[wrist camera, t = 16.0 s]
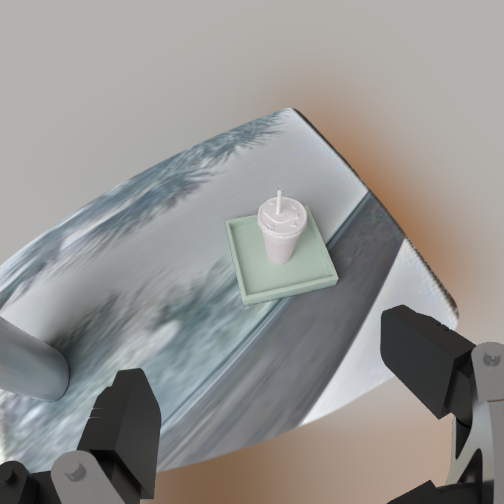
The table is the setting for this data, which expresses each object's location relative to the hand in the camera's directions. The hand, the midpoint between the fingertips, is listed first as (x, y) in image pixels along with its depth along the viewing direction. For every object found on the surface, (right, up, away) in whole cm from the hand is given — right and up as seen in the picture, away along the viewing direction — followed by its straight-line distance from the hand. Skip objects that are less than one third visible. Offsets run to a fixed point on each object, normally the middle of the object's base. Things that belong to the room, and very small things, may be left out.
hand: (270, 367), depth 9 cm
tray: (+3, +3, +38) cm, 38 cm away
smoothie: (+4, +3, +37) cm, 37 cm away
